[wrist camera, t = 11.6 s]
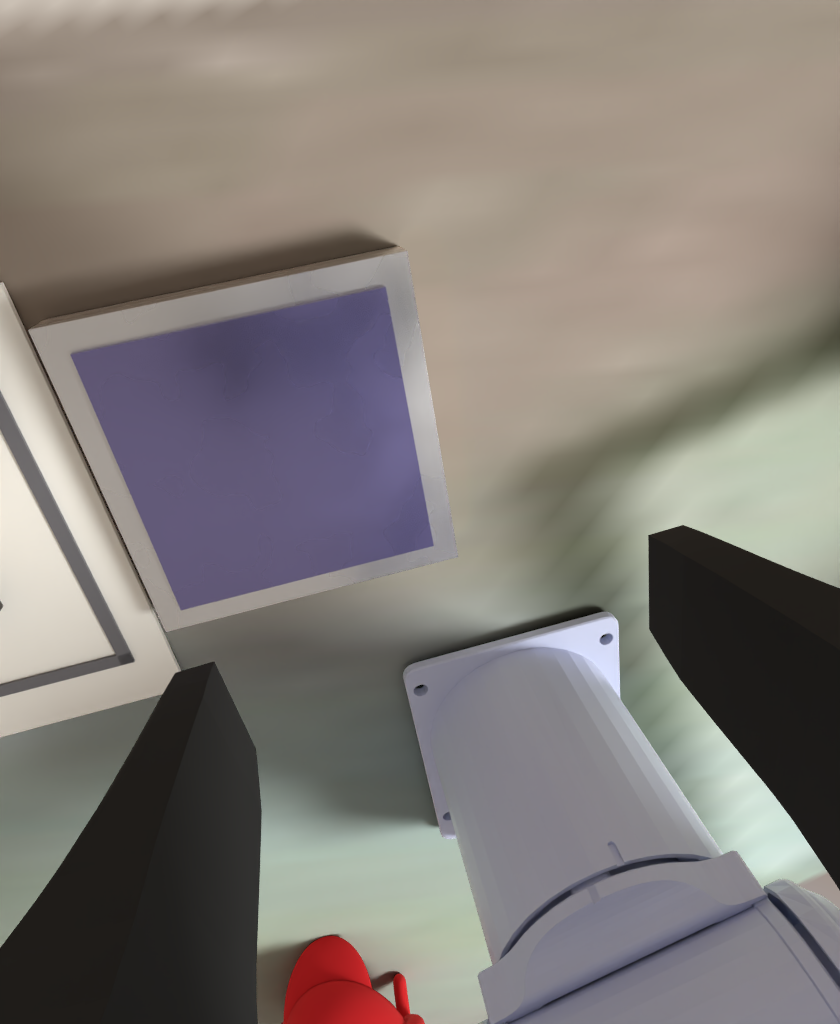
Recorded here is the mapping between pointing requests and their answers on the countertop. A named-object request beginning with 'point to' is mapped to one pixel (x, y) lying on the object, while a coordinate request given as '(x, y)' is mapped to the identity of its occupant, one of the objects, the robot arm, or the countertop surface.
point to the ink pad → (260, 433)
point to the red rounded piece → (340, 989)
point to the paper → (62, 565)
